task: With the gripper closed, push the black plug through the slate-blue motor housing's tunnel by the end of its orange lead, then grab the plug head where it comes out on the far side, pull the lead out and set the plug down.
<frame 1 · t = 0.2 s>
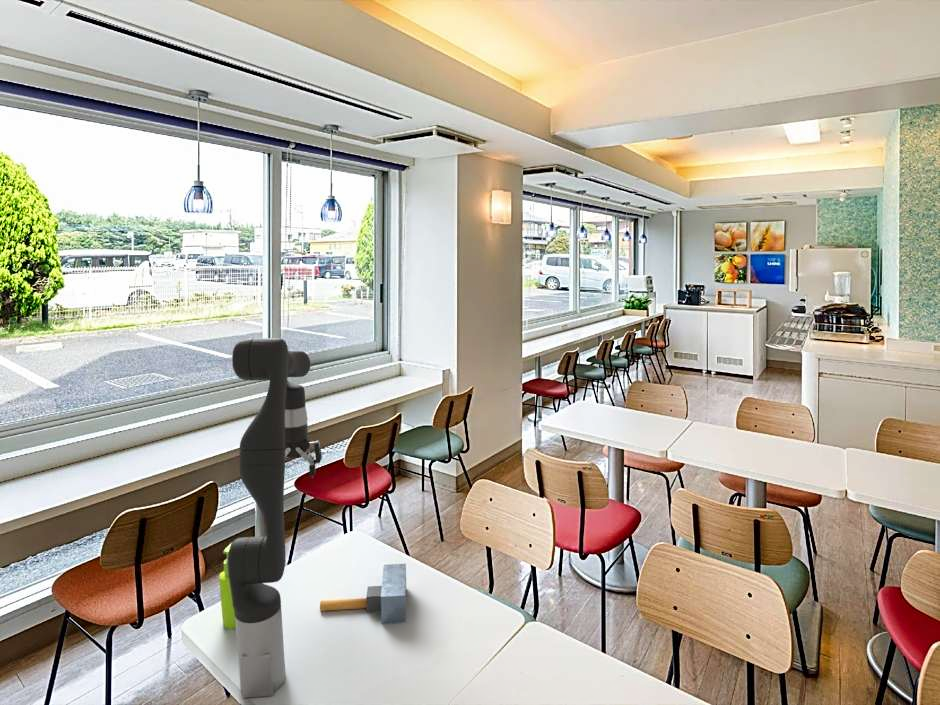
hand: (296, 477, 162), 28 cm above the table, fingers open, 8 cm apart
plug: (377, 606, 149), on the table
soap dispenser: (236, 620, 144), on the table
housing: (394, 605, 150), on the table
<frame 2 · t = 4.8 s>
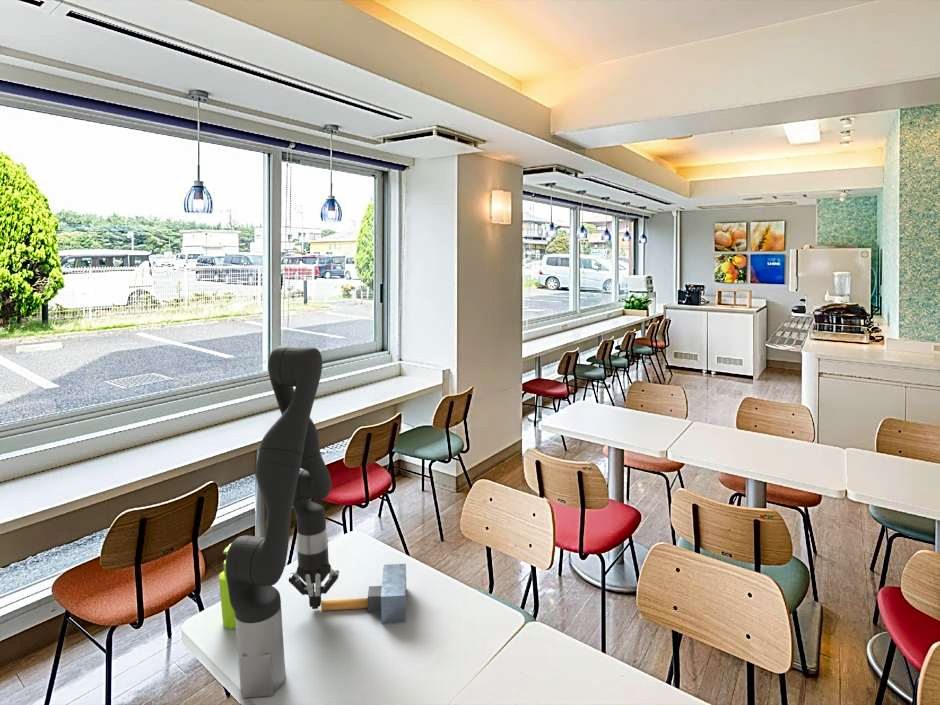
hand: (315, 607, 148), 1 cm above the table, fingers closed
plug: (378, 606, 149), on the table, touching gripper
everything else where it was.
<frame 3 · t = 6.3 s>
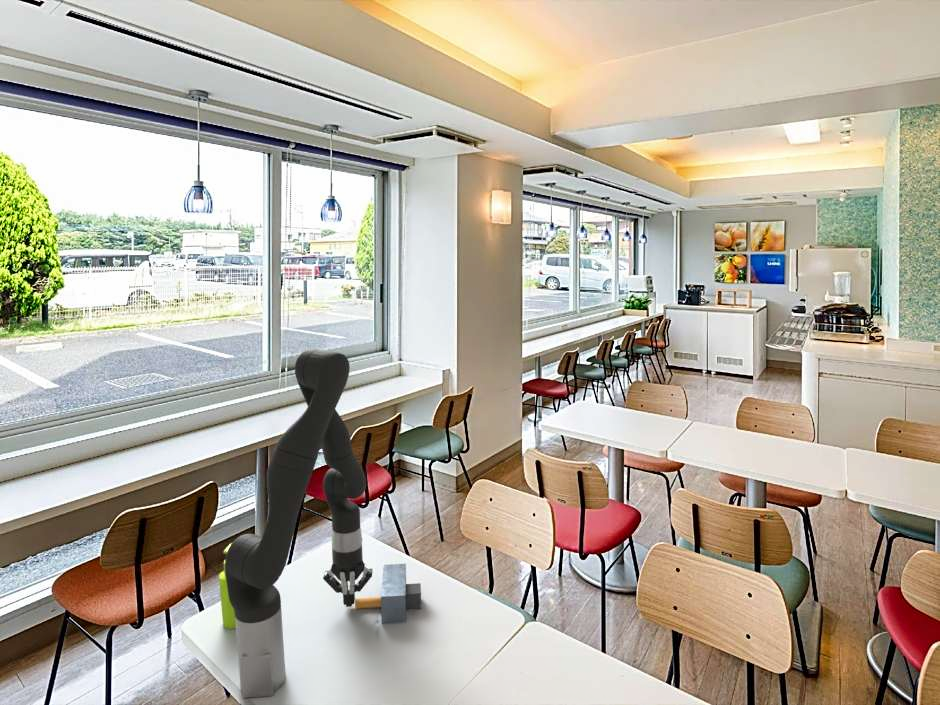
hand: (349, 604, 149), 1 cm above the table, fingers closed
plug: (411, 604, 150), on the table, touching gripper
everything else where it was.
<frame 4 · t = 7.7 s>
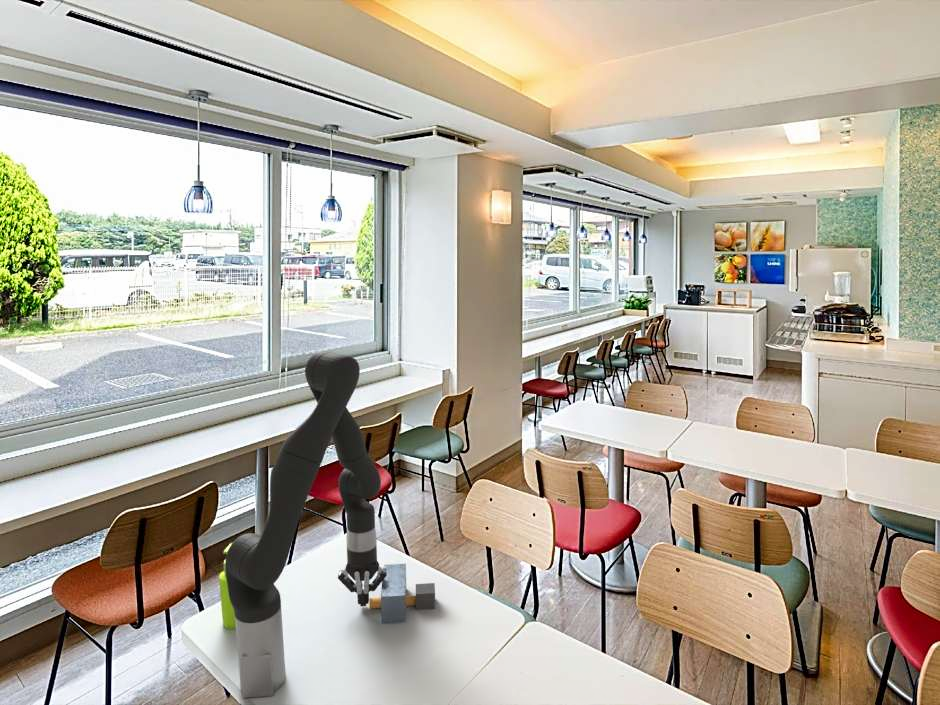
hand: (363, 604, 149), 1 cm above the table, fingers closed
plug: (425, 603, 150), on the table, touching gripper
everything else where it was.
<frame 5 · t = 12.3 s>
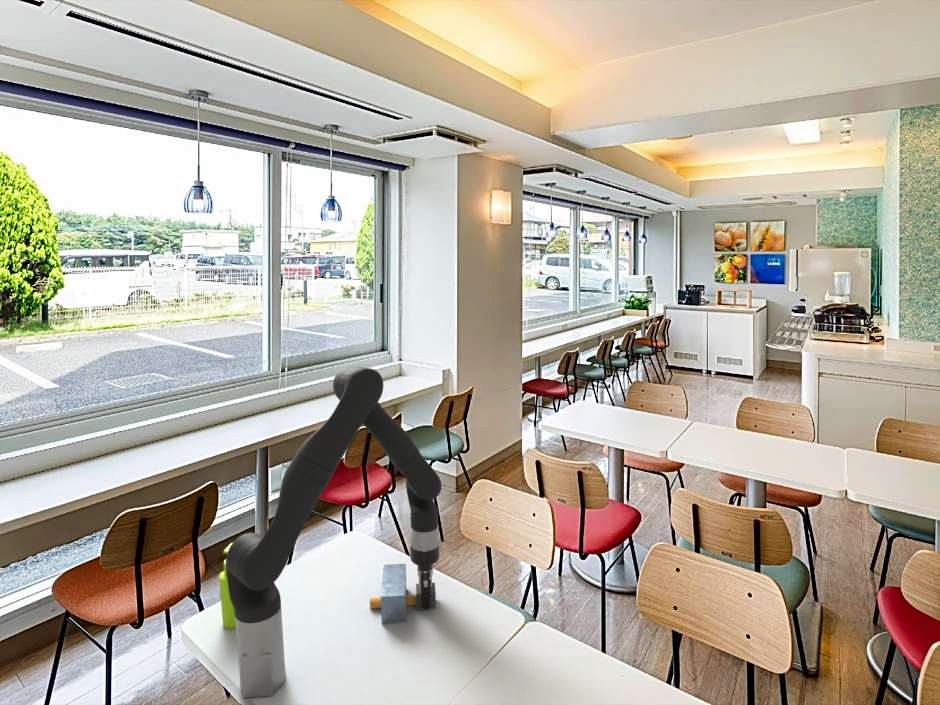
hand: (425, 601, 150), 1 cm above the table, fingers closed on plug, 4 cm apart
plug: (425, 603, 151), on the table, touching gripper
everything else where it was.
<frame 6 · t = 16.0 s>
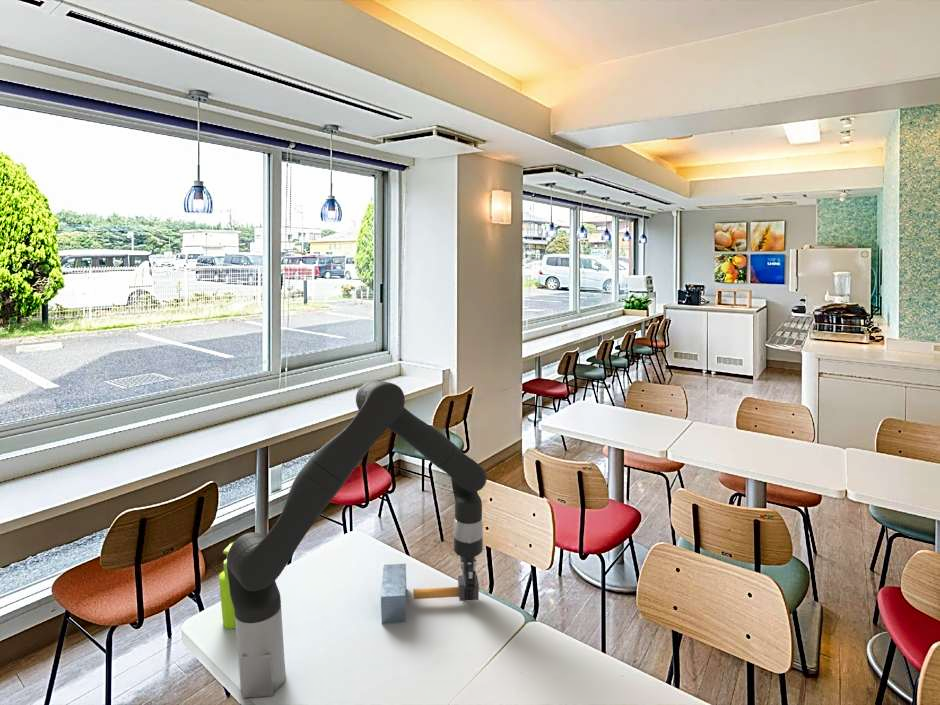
hand: (467, 593, 151), 2 cm above the table, fingers closed on plug, 4 cm apart
plug: (468, 595, 151), point 2 cm above the table, touching gripper
everything else where it was.
when the fingers open (1 cm above the table, at t = 19.8 s): plug stays where it is, on the table.
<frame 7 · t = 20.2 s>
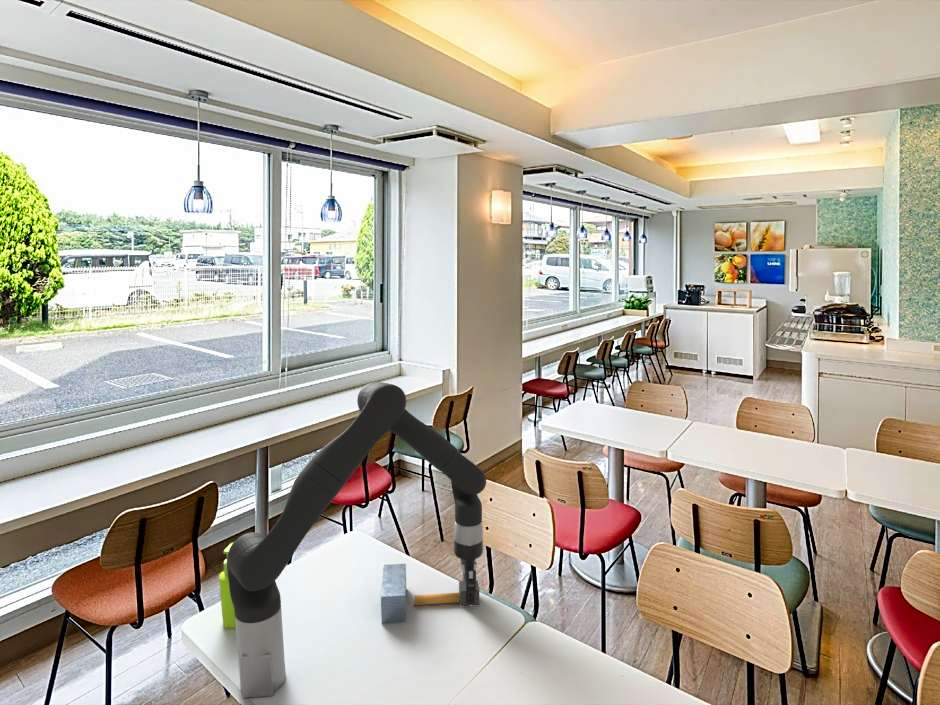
hand: (468, 593, 151), 2 cm above the table, fingers open, 8 cm apart
plug: (469, 600, 152), on the table
everything else where it was.
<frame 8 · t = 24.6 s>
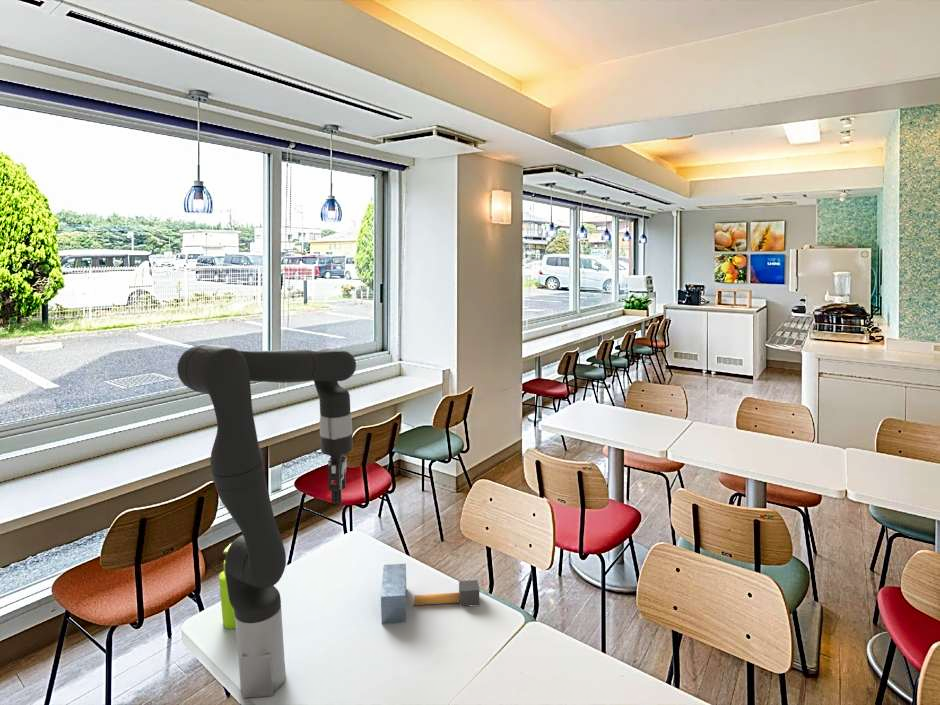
hand: (339, 495, 139), 33 cm above the table, fingers open, 8 cm apart
nothing on the table moved.
at the end: plug inside the target area (0.7 cm from its centre), on the table; plug touching table; the gripper is holding nothing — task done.
